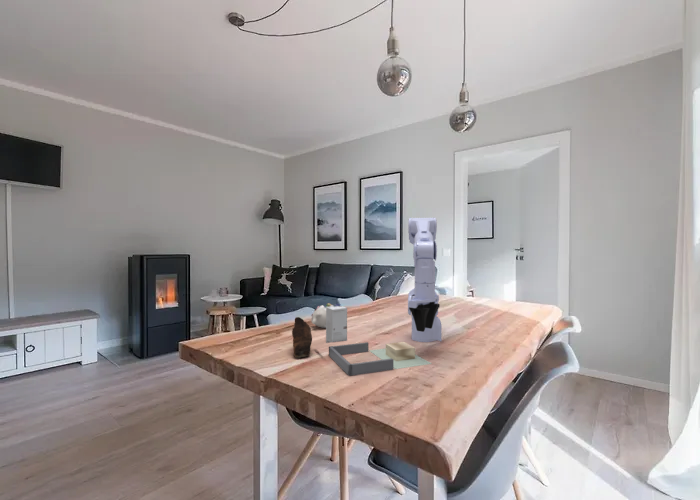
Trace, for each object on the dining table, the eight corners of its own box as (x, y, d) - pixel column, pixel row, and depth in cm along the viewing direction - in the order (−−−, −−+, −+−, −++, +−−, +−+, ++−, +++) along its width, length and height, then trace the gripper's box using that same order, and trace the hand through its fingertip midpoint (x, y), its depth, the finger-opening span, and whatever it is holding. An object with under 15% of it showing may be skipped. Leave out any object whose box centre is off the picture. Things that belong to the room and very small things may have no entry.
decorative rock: (293, 347, 107) (293, 313, 107) (312, 346, 107) (312, 313, 107) (290, 359, 95) (290, 322, 95) (312, 358, 95) (312, 321, 95)
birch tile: (403, 352, 97) (404, 341, 97) (415, 358, 91) (415, 347, 91) (385, 354, 95) (385, 344, 95) (395, 361, 89) (396, 350, 89)
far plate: (401, 351, 102) (401, 346, 102) (431, 369, 87) (431, 363, 87) (368, 355, 98) (368, 350, 98) (395, 374, 83) (395, 369, 83)
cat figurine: (332, 300, 142) (314, 301, 128) (346, 311, 139) (329, 313, 125) (320, 318, 143) (302, 321, 129) (334, 330, 140) (317, 334, 126)
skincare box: (332, 346, 107) (332, 309, 107) (325, 343, 111) (325, 307, 111) (348, 343, 110) (348, 307, 110) (340, 340, 114) (340, 305, 114)
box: (367, 355, 98) (367, 342, 98) (393, 375, 83) (393, 359, 83) (328, 360, 94) (328, 346, 94) (348, 382, 79) (348, 365, 79)
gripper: (424, 279, 104) (423, 323, 104) (399, 283, 93) (399, 331, 93) (445, 281, 99) (445, 326, 99) (422, 285, 88) (421, 336, 88)
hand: (424, 329), depth 96 cm, fingers open, 4 cm apart
